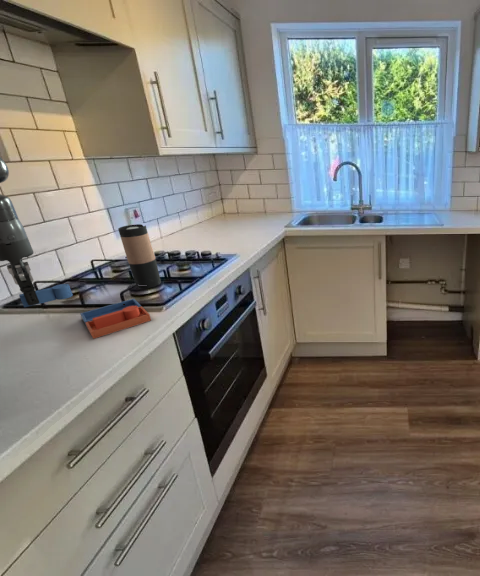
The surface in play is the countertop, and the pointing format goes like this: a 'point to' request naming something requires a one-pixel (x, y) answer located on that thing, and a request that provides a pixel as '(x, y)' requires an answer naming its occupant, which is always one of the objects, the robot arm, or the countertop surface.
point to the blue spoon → (50, 294)
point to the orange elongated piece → (116, 317)
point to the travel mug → (140, 255)
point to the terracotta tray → (118, 324)
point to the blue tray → (107, 310)
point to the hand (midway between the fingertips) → (33, 302)
